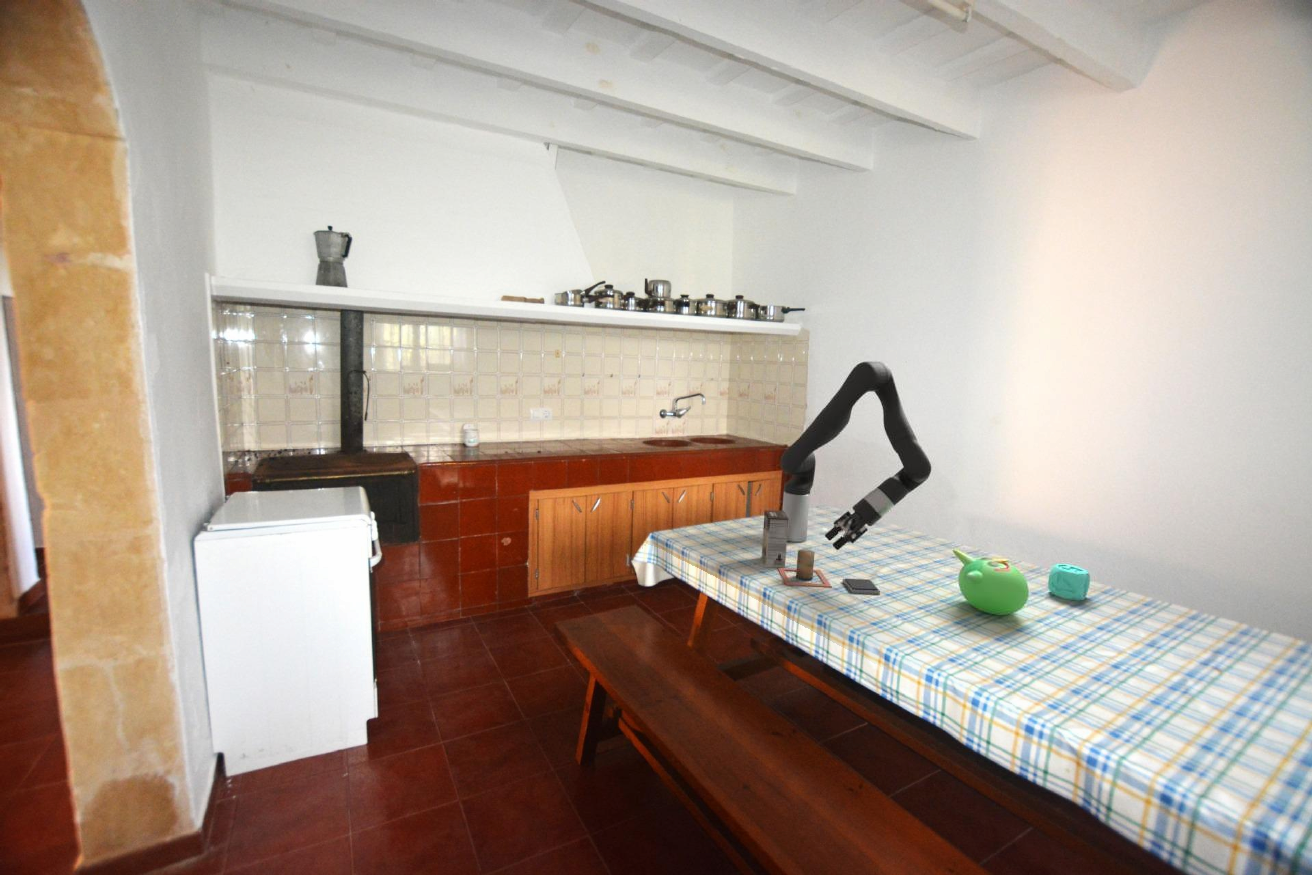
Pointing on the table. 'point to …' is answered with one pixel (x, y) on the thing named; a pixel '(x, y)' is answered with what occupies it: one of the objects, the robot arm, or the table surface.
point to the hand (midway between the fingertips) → (830, 542)
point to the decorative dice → (1069, 582)
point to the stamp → (805, 565)
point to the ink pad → (861, 586)
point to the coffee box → (774, 538)
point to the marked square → (787, 582)
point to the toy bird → (992, 584)
